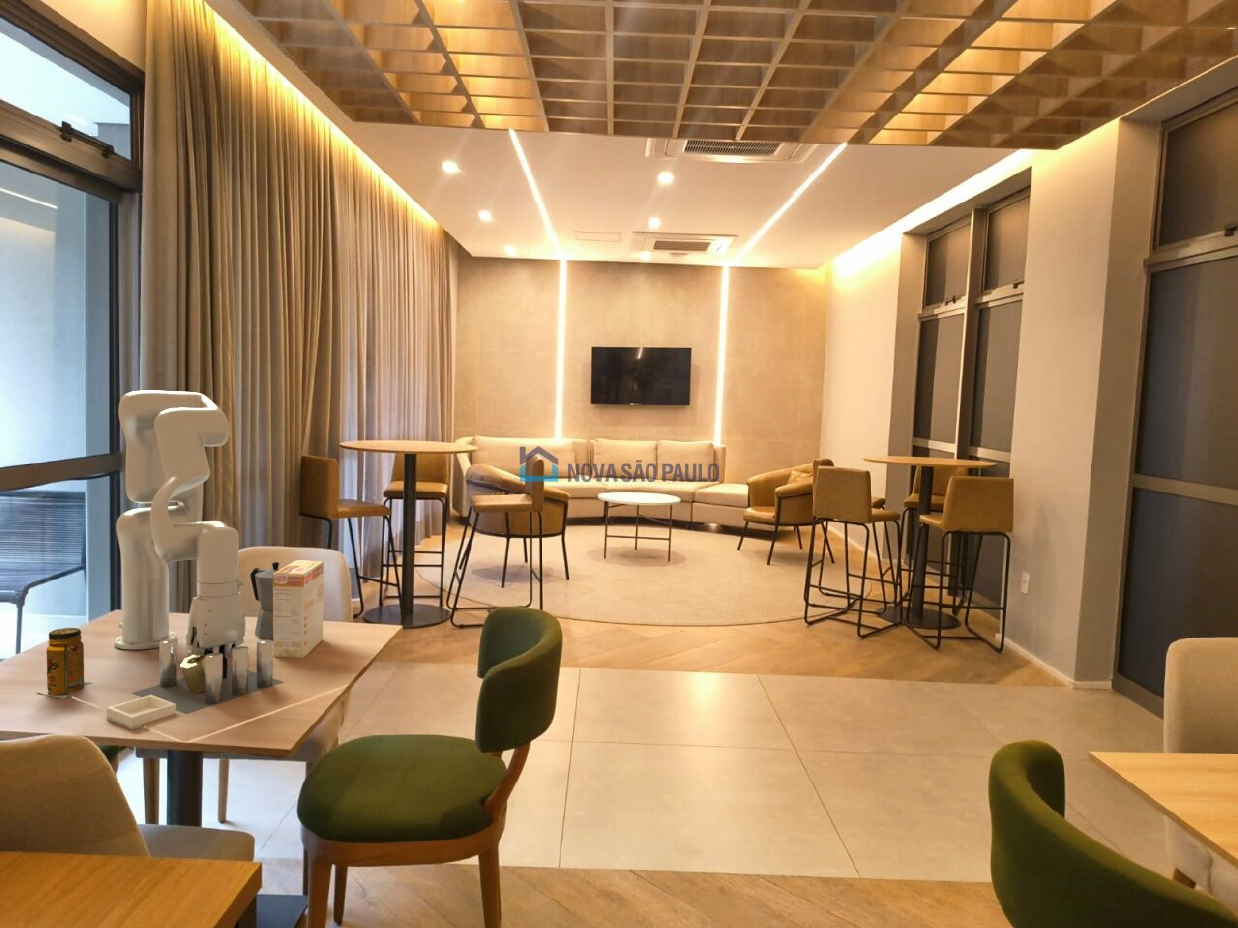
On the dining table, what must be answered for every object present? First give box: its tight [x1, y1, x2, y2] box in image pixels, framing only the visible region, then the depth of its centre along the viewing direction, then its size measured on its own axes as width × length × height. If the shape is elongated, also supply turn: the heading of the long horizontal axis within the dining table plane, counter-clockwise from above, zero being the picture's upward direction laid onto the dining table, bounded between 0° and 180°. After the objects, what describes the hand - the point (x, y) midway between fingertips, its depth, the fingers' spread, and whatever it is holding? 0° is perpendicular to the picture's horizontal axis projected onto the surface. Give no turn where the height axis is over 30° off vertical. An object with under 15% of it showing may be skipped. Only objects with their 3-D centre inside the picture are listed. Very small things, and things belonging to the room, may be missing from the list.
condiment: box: [36, 627, 94, 699], centre depth 161 cm, size 7×8×12 cm
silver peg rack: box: [159, 633, 274, 705], centre depth 165 cm, size 18×14×9 cm
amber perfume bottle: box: [179, 655, 206, 693], centre depth 162 cm, size 4×5×6 cm
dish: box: [106, 695, 177, 731], centre depth 149 cm, size 8×8×2 cm
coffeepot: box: [249, 561, 281, 640], centre depth 202 cm, size 15×9×18 cm, turn 62°
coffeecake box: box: [272, 559, 325, 659], centre depth 191 cm, size 15×7×20 cm, turn 2°
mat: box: [131, 664, 284, 715], centre depth 164 cm, size 18×21×1 cm
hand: (218, 677), depth 166 cm, fingers closed
